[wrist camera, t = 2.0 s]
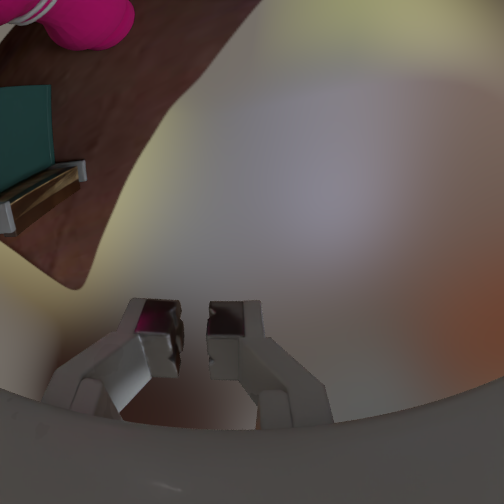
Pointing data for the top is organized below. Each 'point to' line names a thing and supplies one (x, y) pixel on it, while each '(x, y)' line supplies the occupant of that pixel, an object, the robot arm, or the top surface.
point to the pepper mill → (74, 20)
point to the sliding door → (39, 195)
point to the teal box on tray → (26, 141)
